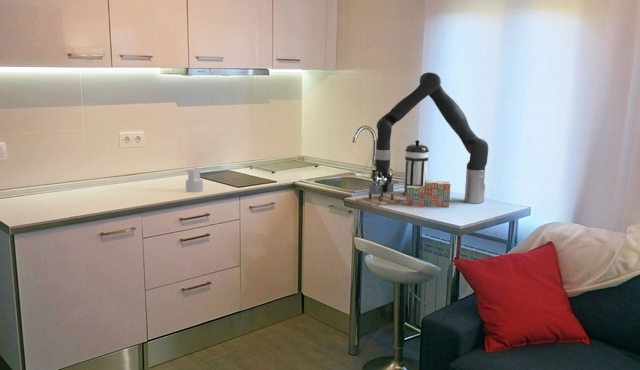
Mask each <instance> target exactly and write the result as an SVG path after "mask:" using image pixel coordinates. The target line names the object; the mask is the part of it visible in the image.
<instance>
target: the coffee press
mask: <svg viewBox="0 0 640 370" xmlns="http://www.w3.org/2000/svg"><path fill="white" fill-rule="evenodd" d="M404 151H405V155H404V180H403V182H404V183H403V190H404V191H403V192H402V195H403V196H405V197H406V191H407V185H408V186H425V181H428V180H427V178H428V161H429V152H430V150H429V148H428V146H426V145H425V144H420V140H419V139H417V140H415V144H409V145H407V146H406V148H405V149H404Z"/></svg>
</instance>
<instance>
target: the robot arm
mask: <svg viewBox="0 0 640 370" xmlns="http://www.w3.org/2000/svg"><path fill="white" fill-rule="evenodd" d="M441 84H442V80H441V78H440V76H439V75H438V74H437V73H434V72H431V71H430V72H429V71H428V72H425V73H423V74H422V75H420V77H419V85H417V87H416V88H415V89H414V90H413V91H412V92H410V94H408V95H407V96H405V97H404V98H402V99H401V100H400V101H399V102H398V103H396V105H394V106H393V108H391V110H390V111H388V112H387V113H386V114H384V115H383V116H382V117H381V118H380V119H378V121H377V123H376V129H377V139H376V142H375V144H376V146H375V154H374V155H375V157H374V158H375V159H374V168H375V169H372V170H371V176H372V181H373V182H375V183H381V181H382V183H383V192H387V189H388V184H391V183H392V181H393V180H392V179H393V176H394V175H393V173H392V172H390V171H389V168H390V166H391V136H392V131H393V130H392V128H393V126H394V125H395V124H396V123H397V122H400V121H401V120H403V119H404V117H406V115H407V114H409V113H410V112H411V111H412V109H414V108H415V107H416V106H417V105H418V104H419V103H420V102H421V101H422V100H425V98H427V97H428V96H429V98H430V99H432V101H433V103H434V105H435V106H436V107H437V109H438V111H439V113H440V114H441V116H442V117H443V119H444V120H445V121H446V123H447V124H448V125H449V127H450V128H451V129H452V130H453V131H454V133H455V134H456V136H458V137H459V138H458V139H460V141H461V142H462V145H463V146H464V148H465V149H466V151H467V152H468V154H469V160H468V162H467V163H466V170H465V171H466V173H465V175H466V176H465V188H464V202H466V203H470V204H482V203H484V201H485V191H486V188H485V187H486V184H485V177H486V176H485V172H486V166H487V162H488V157H489V145H488V142H487V141H486V140H485V139H484V138H483V139H482V138H480V137H478V135H476V134H475V133H474V131H473V130H472V129H471V127H470V124H469V122H468V120H467V116H466V115H465V113H464V112H463V110H462V108H461V107H460V106H459V105H458V104H457V102H456V101H455V100H454V99H453V98H451V96H450V95H449V94H447V92H446V91H445V90H444V89H443V87H442V85H441ZM375 183H374V184H375Z"/></svg>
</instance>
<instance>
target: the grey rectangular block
mask: <svg viewBox="0 0 640 370" xmlns="http://www.w3.org/2000/svg"><path fill="white" fill-rule="evenodd" d="M369 193H372V194H373V195H374V196H377V195H381V194H383V195H384V194H389V193H390V194H391V193H394V183H393V182H391V184H388V189H387V192H383V182H380V183H369V186H368V194H369Z"/></svg>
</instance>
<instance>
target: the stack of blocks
mask: <svg viewBox="0 0 640 370" xmlns="http://www.w3.org/2000/svg"><path fill="white" fill-rule="evenodd" d="M405 194H406V196H405V197H406V198H405V199H406V202H405V205H406V206H413V207H429V208H431V207H432V208H433V207H434V208H448V209H449V208H450V198H451V182H450V181H443V180H427V181H425V186H408V185H407V191H406V192H405Z"/></svg>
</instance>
